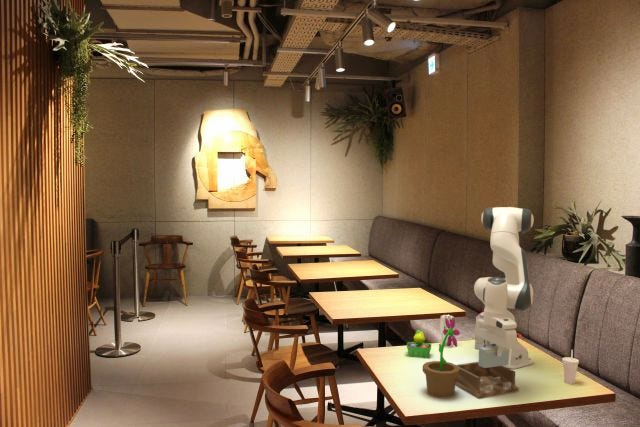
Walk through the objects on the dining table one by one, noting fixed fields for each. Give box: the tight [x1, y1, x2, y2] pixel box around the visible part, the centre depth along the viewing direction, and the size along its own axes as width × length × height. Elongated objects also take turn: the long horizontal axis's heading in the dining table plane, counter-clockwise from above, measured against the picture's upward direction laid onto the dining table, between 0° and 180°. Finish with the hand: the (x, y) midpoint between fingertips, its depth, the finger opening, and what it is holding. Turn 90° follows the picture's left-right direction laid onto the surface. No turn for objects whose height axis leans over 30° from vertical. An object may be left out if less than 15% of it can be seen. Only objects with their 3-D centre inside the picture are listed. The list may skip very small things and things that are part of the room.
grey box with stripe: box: [478, 346, 509, 368], centre depth 219 cm, size 12×4×7 cm, turn 114°
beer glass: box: [439, 314, 455, 349], centre depth 278 cm, size 7×7×15 cm
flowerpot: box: [422, 317, 460, 398], centre depth 217 cm, size 14×14×30 cm
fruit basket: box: [406, 329, 433, 359], centre depth 263 cm, size 11×9×11 cm
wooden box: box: [455, 361, 520, 400], centre depth 224 cm, size 20×17×8 cm
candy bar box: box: [474, 311, 486, 350], centre depth 277 cm, size 11×5×16 cm, turn 148°
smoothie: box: [561, 349, 580, 385], centre depth 230 cm, size 6×6×14 cm
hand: (494, 354), depth 218 cm, fingers closed on grey box with stripe, 4 cm apart
